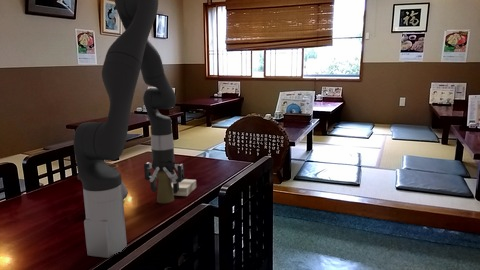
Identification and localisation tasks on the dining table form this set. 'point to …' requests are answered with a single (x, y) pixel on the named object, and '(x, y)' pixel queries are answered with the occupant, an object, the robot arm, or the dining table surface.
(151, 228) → the dining table surface
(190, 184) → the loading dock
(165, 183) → the cork
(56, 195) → the dining table surface
